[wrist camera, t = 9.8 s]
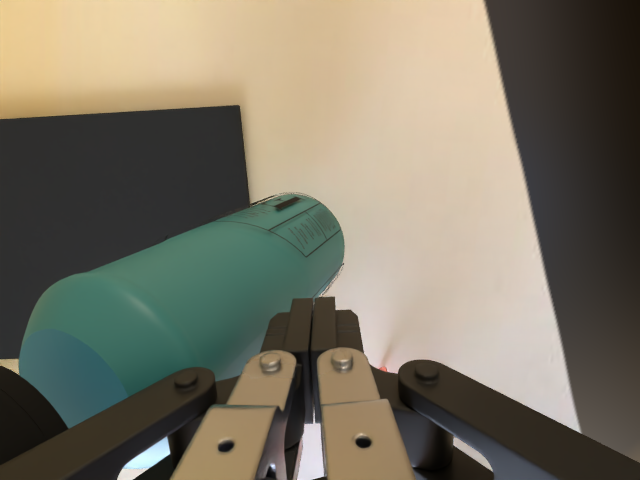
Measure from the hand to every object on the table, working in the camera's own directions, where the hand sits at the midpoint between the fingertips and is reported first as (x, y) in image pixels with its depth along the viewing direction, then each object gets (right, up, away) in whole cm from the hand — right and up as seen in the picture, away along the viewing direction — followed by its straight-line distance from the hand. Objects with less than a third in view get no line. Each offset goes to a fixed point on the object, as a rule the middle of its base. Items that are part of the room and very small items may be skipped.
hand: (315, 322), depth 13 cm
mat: (-15, +3, +13) cm, 20 cm away
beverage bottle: (-1, +3, +12) cm, 12 cm away
